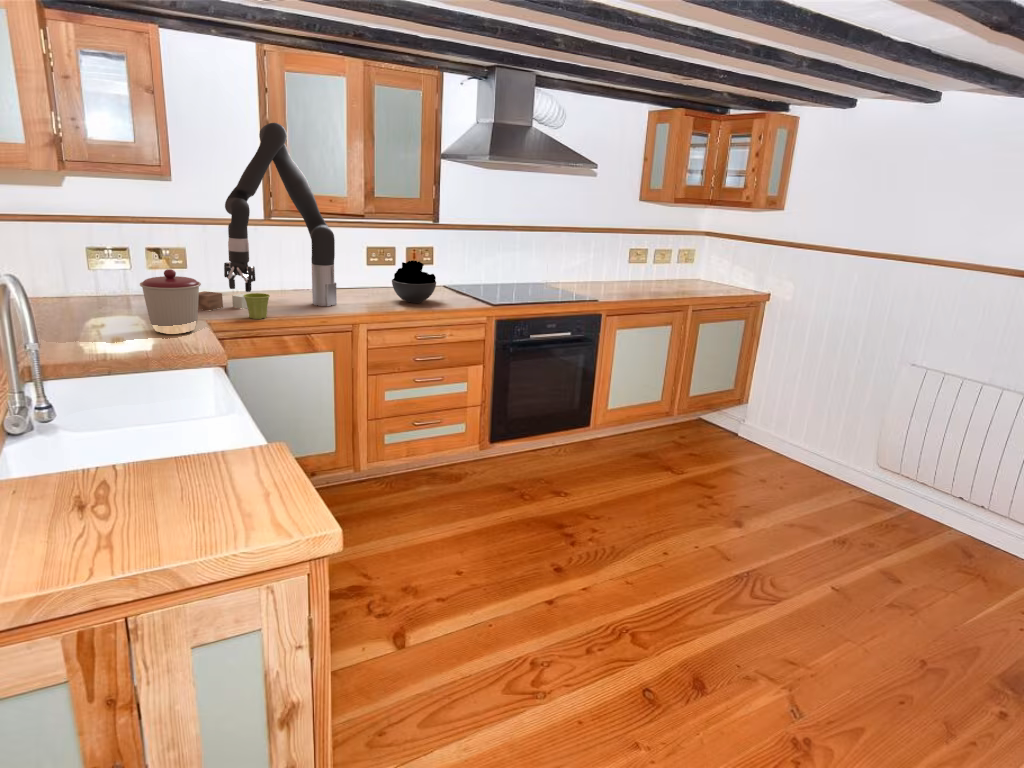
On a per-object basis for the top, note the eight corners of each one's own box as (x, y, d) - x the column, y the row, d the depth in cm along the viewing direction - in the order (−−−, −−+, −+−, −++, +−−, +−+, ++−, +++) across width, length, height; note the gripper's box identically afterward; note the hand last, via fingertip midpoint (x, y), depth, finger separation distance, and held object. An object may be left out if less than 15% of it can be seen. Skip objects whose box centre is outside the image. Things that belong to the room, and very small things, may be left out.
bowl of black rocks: (427, 298, 312) (428, 258, 306) (441, 306, 295) (443, 264, 289) (386, 298, 303) (386, 258, 297) (399, 307, 286) (399, 264, 280)
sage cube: (251, 307, 265) (251, 295, 264) (242, 309, 261) (241, 297, 260) (242, 305, 267) (241, 293, 266) (232, 307, 263) (232, 295, 261)
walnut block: (223, 308, 261) (222, 293, 259) (209, 311, 254) (208, 296, 252) (205, 305, 263) (204, 291, 261) (192, 309, 255) (190, 294, 254)
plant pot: (243, 320, 243) (242, 297, 241) (245, 314, 252) (244, 292, 249) (270, 320, 246) (269, 297, 243) (271, 315, 254) (270, 293, 252)
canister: (133, 331, 218) (126, 268, 211) (183, 323, 232) (178, 264, 226) (165, 340, 209) (159, 275, 203) (215, 332, 224) (211, 270, 218)
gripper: (259, 251, 258) (260, 291, 263) (232, 247, 263) (234, 286, 268) (244, 252, 251) (246, 293, 256) (217, 248, 257) (219, 288, 262)
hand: (240, 290), depth 262 cm, fingers open, 8 cm apart
